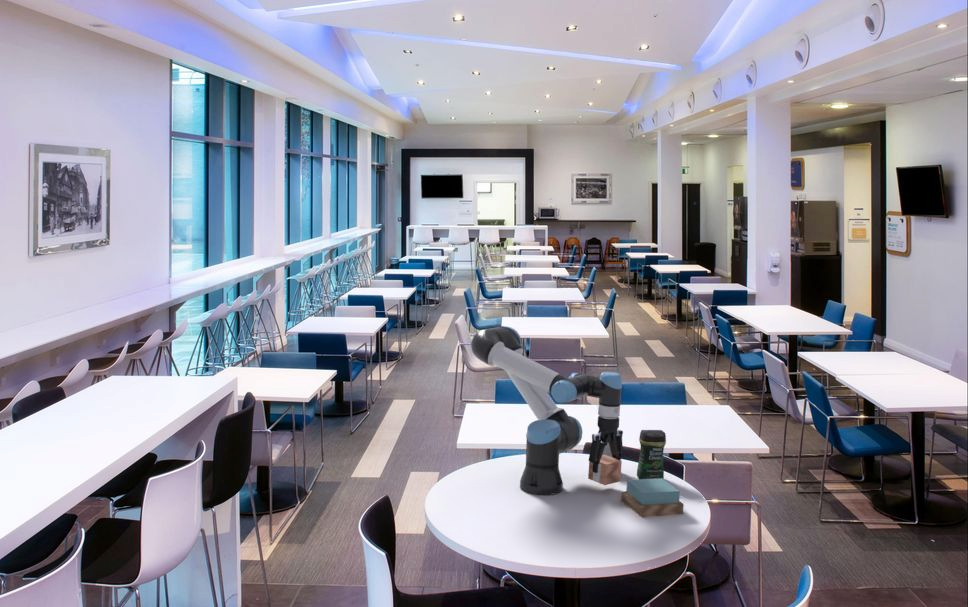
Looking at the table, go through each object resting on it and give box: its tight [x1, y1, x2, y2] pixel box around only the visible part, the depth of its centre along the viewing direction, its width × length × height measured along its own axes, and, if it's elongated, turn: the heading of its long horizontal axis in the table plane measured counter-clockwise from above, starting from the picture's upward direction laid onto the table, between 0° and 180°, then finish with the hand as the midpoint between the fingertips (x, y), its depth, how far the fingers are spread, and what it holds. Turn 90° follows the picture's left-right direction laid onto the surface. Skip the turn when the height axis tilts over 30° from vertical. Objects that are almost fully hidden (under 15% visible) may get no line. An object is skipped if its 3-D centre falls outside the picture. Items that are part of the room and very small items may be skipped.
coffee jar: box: [636, 429, 667, 480], centre depth 291 cm, size 10×8×19 cm
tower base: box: [620, 490, 685, 518], centre depth 261 cm, size 15×15×4 cm
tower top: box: [626, 478, 681, 505], centre depth 262 cm, size 13×13×4 cm
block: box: [587, 455, 623, 486], centre depth 277 cm, size 8×8×8 cm
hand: (604, 478), depth 278 cm, fingers closed on block, 8 cm apart
